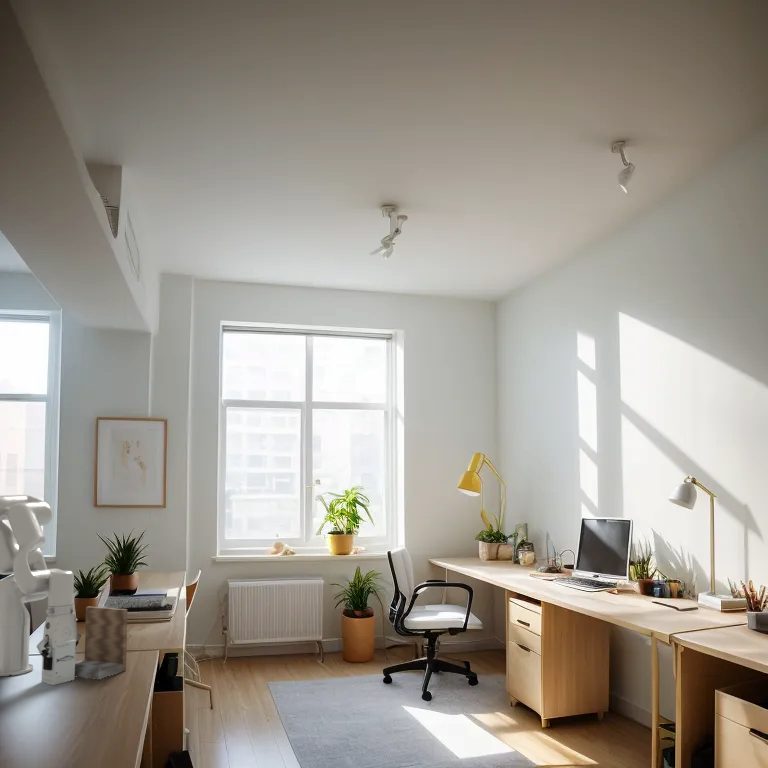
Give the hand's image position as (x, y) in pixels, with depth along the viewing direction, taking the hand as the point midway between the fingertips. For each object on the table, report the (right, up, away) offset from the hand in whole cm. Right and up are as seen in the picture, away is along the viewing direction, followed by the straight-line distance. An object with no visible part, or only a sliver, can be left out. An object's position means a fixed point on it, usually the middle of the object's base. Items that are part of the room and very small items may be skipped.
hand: (58, 666), depth 243 cm
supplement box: (0, -5, -1) cm, 5 cm away
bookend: (+7, -6, +9) cm, 13 cm away
